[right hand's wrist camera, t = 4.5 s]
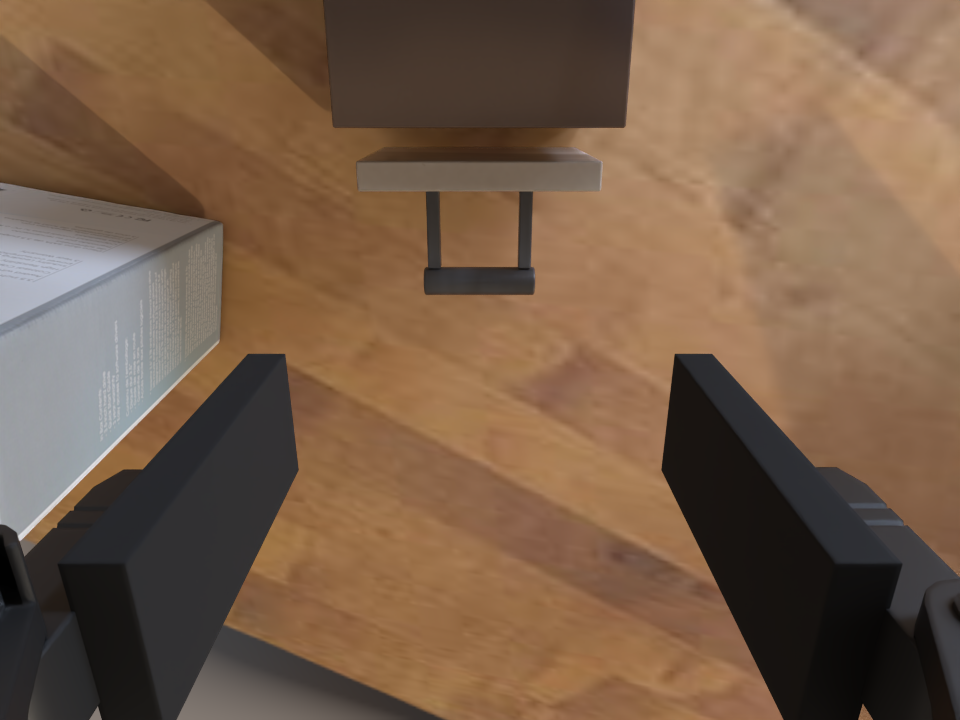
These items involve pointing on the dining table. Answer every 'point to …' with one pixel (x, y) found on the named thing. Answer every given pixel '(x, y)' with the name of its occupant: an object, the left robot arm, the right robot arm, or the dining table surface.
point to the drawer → (479, 173)
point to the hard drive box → (92, 332)
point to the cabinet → (479, 63)
